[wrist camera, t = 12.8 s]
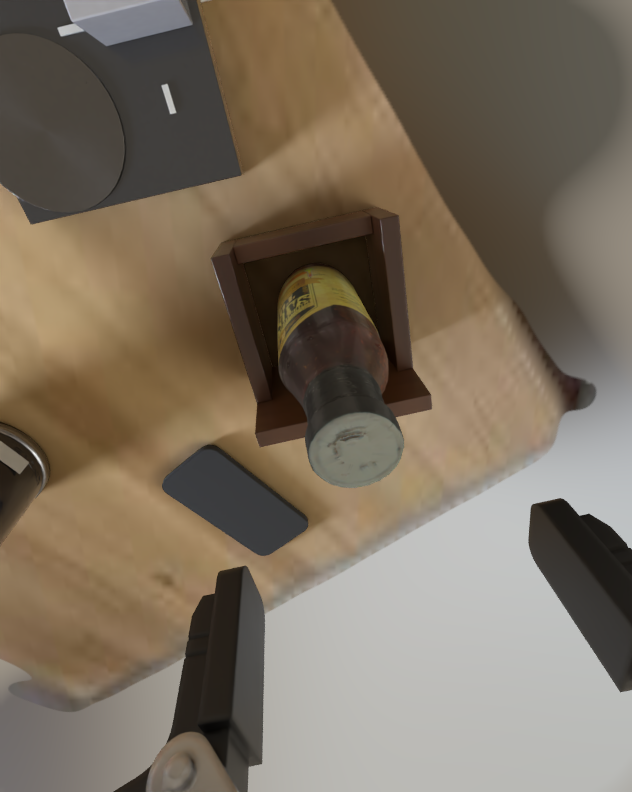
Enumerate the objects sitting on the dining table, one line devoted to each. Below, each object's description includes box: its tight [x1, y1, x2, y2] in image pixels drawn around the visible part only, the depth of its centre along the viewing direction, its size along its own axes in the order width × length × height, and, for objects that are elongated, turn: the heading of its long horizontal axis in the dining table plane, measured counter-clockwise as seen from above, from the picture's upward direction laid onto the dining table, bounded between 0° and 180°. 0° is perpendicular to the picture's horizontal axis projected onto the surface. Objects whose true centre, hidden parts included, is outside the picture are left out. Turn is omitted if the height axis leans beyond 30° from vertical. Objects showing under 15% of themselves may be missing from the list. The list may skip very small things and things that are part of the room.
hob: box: [0, 0, 244, 224], centre depth 25 cm, size 16×13×3 cm
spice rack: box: [211, 207, 432, 447], centre depth 30 cm, size 12×12×10 cm
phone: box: [162, 445, 308, 556], centre depth 43 cm, size 7×1×15 cm
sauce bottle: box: [277, 263, 404, 488], centre depth 25 cm, size 6×6×20 cm
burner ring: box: [0, 33, 125, 213], centre depth 24 cm, size 9×9×1 cm
